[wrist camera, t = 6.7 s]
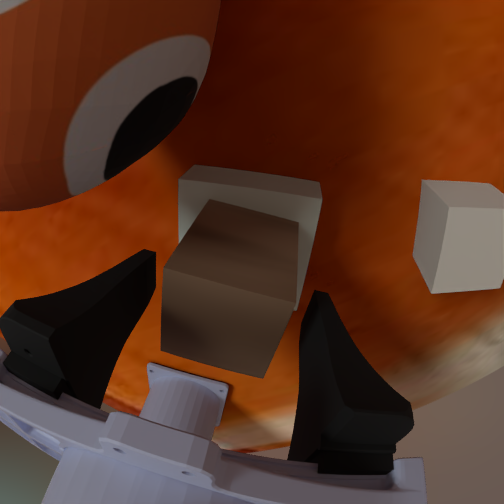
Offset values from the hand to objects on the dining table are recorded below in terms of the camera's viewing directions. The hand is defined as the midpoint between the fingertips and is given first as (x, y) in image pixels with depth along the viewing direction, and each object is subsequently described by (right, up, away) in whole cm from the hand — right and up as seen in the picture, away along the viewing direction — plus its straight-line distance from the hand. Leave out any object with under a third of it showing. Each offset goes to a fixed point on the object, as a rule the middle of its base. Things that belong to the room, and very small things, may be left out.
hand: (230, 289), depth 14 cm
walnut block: (+1, +2, +3) cm, 3 cm away
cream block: (+13, +4, +3) cm, 14 cm away
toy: (-3, +18, -3) cm, 18 cm away
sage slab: (+1, +3, +5) cm, 6 cm away
